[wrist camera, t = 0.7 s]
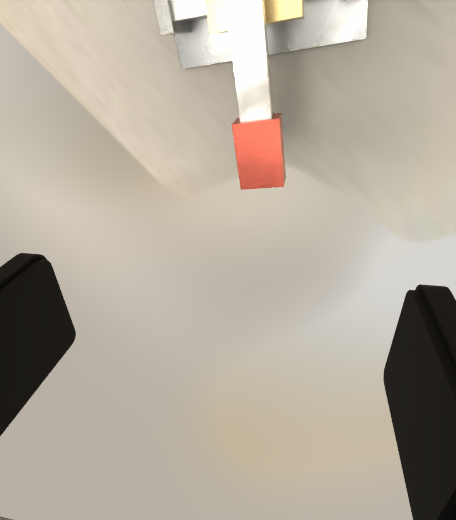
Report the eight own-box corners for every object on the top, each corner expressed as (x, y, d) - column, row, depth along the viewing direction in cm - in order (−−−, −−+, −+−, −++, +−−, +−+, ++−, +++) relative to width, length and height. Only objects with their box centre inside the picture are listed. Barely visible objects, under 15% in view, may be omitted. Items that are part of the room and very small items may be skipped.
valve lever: (212, -68, 19) (204, -75, 17) (268, -82, 18) (264, -92, 17) (245, 180, 26) (240, 189, 25) (285, 177, 25) (283, 186, 24)
